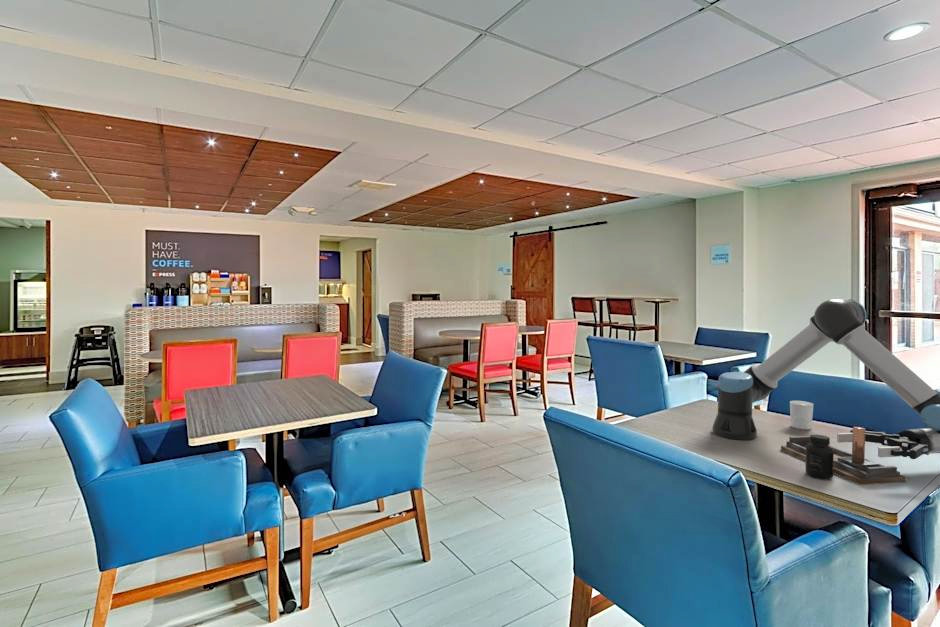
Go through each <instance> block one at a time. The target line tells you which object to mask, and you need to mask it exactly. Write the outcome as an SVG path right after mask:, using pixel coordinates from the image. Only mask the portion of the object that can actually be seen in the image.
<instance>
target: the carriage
mask: <svg viewBox="0 0 940 627" xmlns="http://www.w3.org/2000/svg"><path fill="white" fill-rule="evenodd" d="M852 430H853V438H852V442H851V454H852V456H850V457H838V461H839V462H841V463H844V464H846V465H849V466H851V467H854V468H856V469H859V470H861V471H863V472H865V471H866V467H879V464H880V463H878V462H874V461H872V460H869V459H868V458H865V455H866V454H865V453H866V441H865V431H866V428H865V427H859V426H853V427H852Z"/></svg>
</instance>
